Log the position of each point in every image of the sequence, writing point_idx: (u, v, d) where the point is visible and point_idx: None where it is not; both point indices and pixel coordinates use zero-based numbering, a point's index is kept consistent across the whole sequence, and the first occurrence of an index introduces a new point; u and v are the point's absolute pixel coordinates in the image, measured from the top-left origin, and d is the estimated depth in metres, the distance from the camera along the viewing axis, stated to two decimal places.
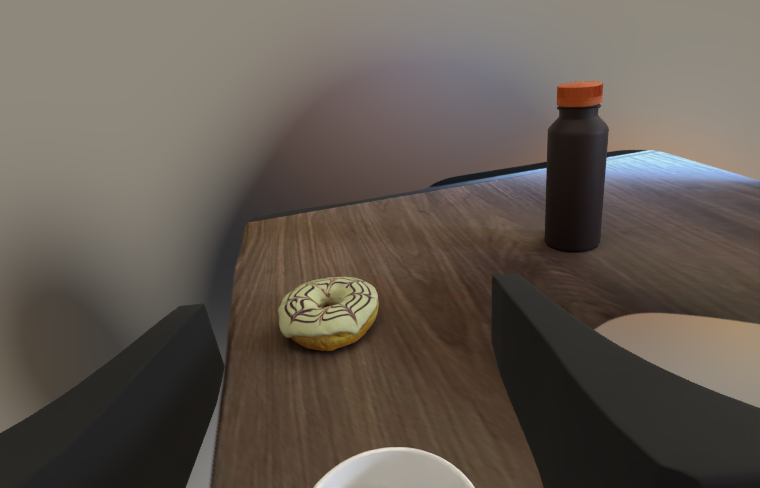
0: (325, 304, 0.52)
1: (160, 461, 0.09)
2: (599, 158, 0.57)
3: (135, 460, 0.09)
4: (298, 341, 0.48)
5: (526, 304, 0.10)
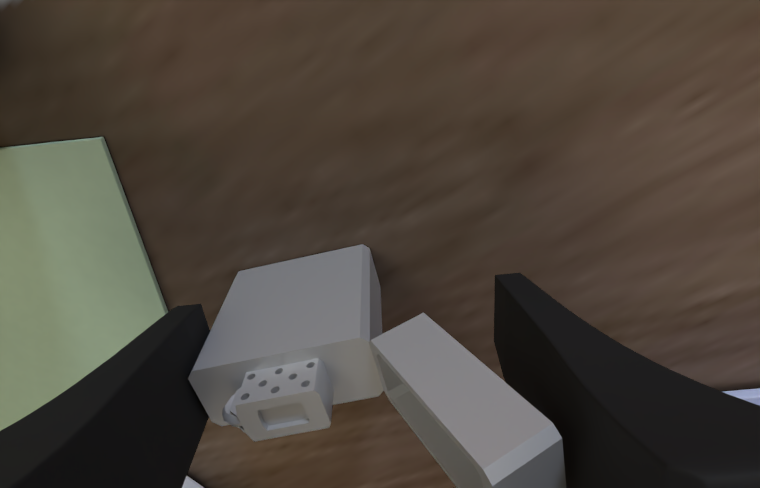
0: None
1: (156, 461, 0.09)
2: None
3: (131, 460, 0.09)
4: None
5: (529, 304, 0.10)
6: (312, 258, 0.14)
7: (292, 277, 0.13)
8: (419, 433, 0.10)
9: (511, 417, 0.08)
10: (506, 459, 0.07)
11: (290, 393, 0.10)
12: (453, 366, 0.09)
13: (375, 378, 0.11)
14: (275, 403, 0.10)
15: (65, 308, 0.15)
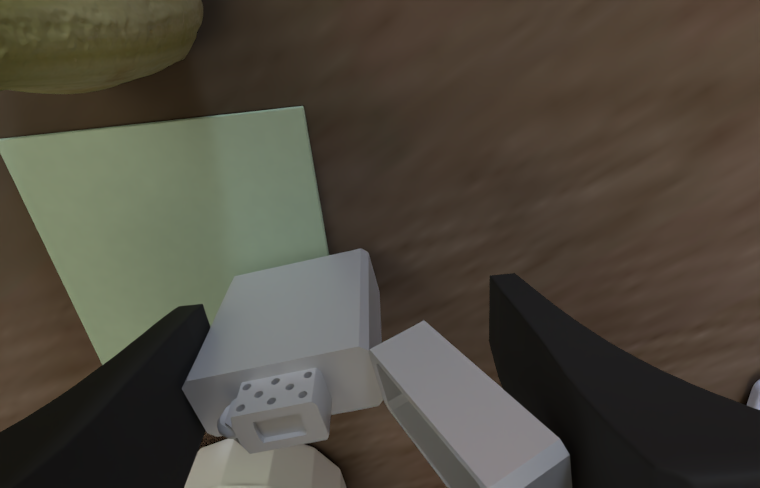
0: None
1: (158, 461, 0.09)
2: None
3: (133, 460, 0.09)
4: None
5: (523, 304, 0.10)
6: (310, 263, 0.14)
7: (289, 282, 0.13)
8: (420, 445, 0.09)
9: (516, 432, 0.07)
10: (512, 477, 0.07)
11: (287, 404, 0.09)
12: (455, 377, 0.09)
13: (374, 388, 0.10)
14: (271, 415, 0.10)
15: None
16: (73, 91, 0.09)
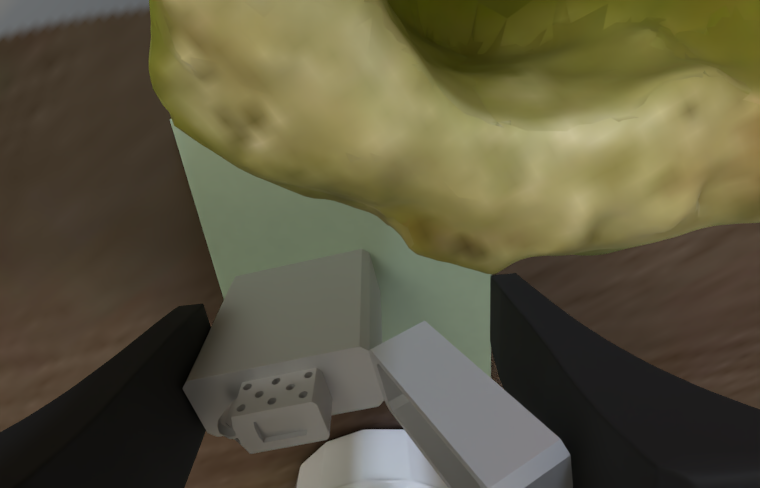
0: None
1: (159, 461, 0.09)
2: None
3: (134, 460, 0.09)
4: None
5: (524, 304, 0.10)
6: (310, 263, 0.14)
7: (290, 283, 0.13)
8: (421, 446, 0.09)
9: (517, 432, 0.07)
10: (512, 477, 0.07)
11: (287, 404, 0.09)
12: (456, 377, 0.09)
13: (375, 388, 0.10)
14: (272, 415, 0.09)
15: (392, 269, 0.14)
16: None
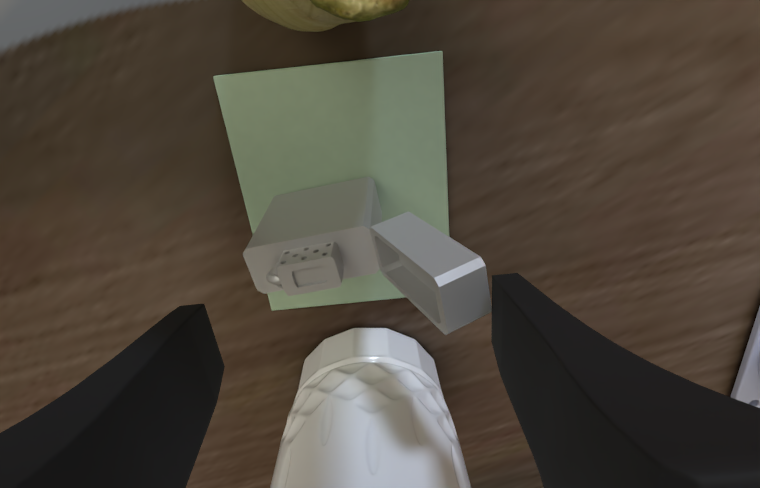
0: None
1: (160, 461, 0.09)
2: None
3: (135, 460, 0.09)
4: None
5: (526, 304, 0.10)
6: (330, 186, 0.18)
7: (315, 197, 0.18)
8: (402, 288, 0.14)
9: (456, 255, 0.12)
10: (449, 274, 0.11)
11: (314, 258, 0.14)
12: (424, 236, 0.13)
13: (373, 258, 0.15)
14: (304, 266, 0.14)
15: None
16: (316, 28, 0.14)
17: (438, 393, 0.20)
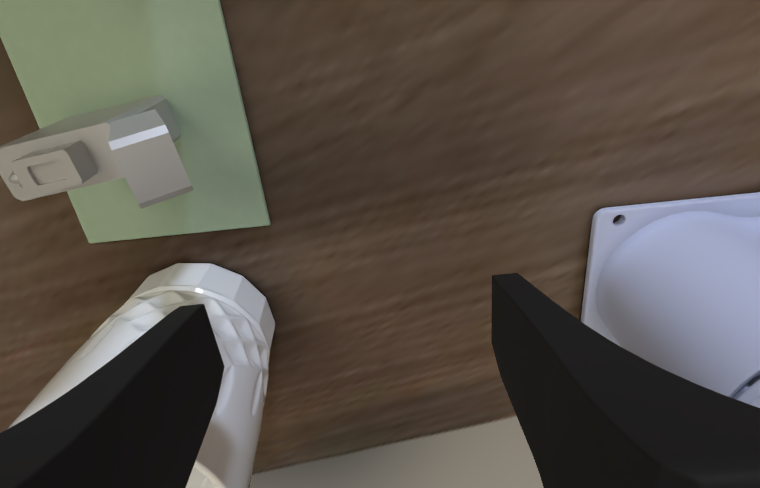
0: None
1: (160, 461, 0.09)
2: None
3: (135, 460, 0.09)
4: None
5: (526, 304, 0.10)
6: (120, 105, 0.18)
7: (97, 113, 0.18)
8: None
9: (146, 127, 0.12)
10: (126, 139, 0.11)
11: (47, 152, 0.14)
12: (142, 120, 0.13)
13: None
14: (38, 161, 0.14)
15: None
16: None
17: (246, 323, 0.20)
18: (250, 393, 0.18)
